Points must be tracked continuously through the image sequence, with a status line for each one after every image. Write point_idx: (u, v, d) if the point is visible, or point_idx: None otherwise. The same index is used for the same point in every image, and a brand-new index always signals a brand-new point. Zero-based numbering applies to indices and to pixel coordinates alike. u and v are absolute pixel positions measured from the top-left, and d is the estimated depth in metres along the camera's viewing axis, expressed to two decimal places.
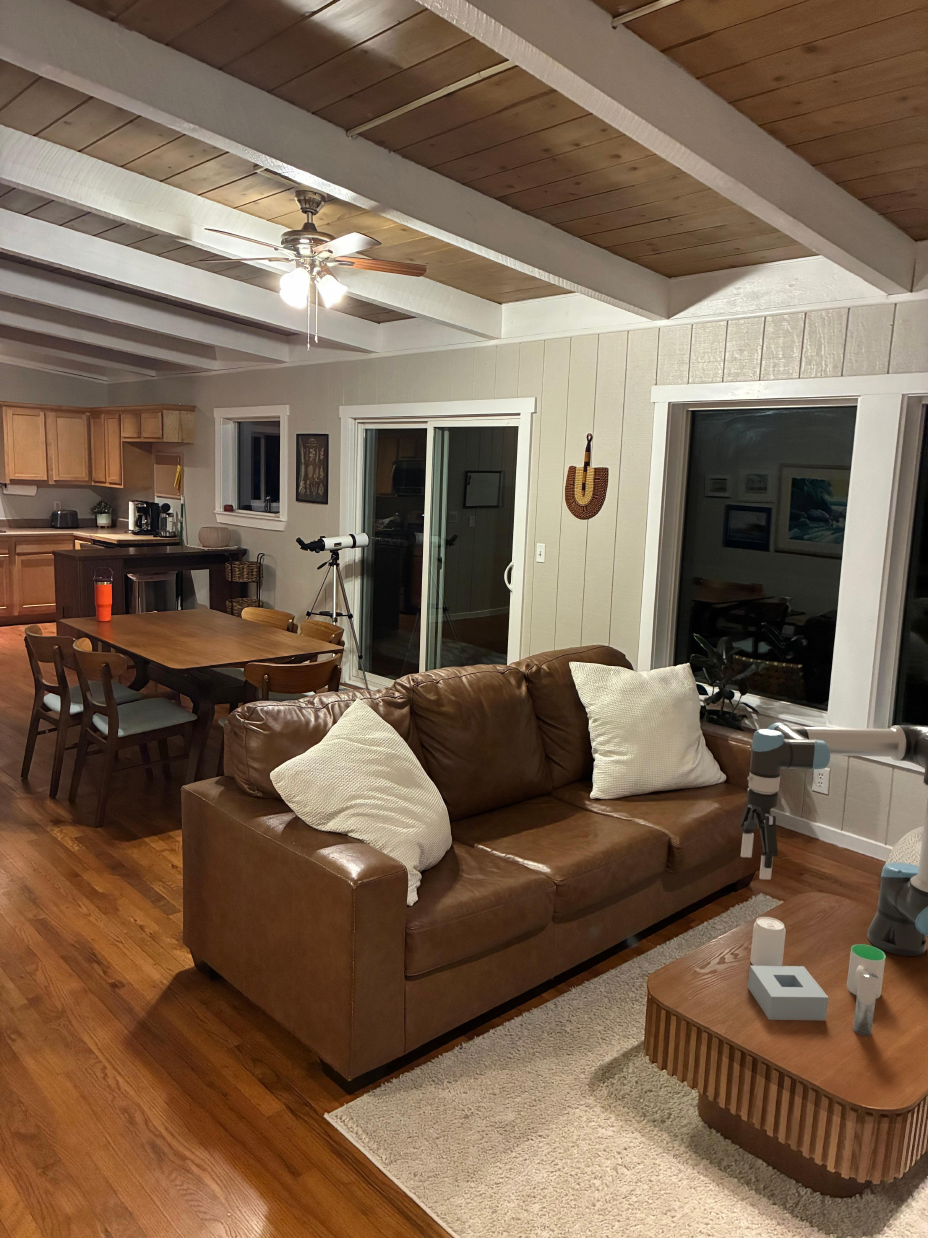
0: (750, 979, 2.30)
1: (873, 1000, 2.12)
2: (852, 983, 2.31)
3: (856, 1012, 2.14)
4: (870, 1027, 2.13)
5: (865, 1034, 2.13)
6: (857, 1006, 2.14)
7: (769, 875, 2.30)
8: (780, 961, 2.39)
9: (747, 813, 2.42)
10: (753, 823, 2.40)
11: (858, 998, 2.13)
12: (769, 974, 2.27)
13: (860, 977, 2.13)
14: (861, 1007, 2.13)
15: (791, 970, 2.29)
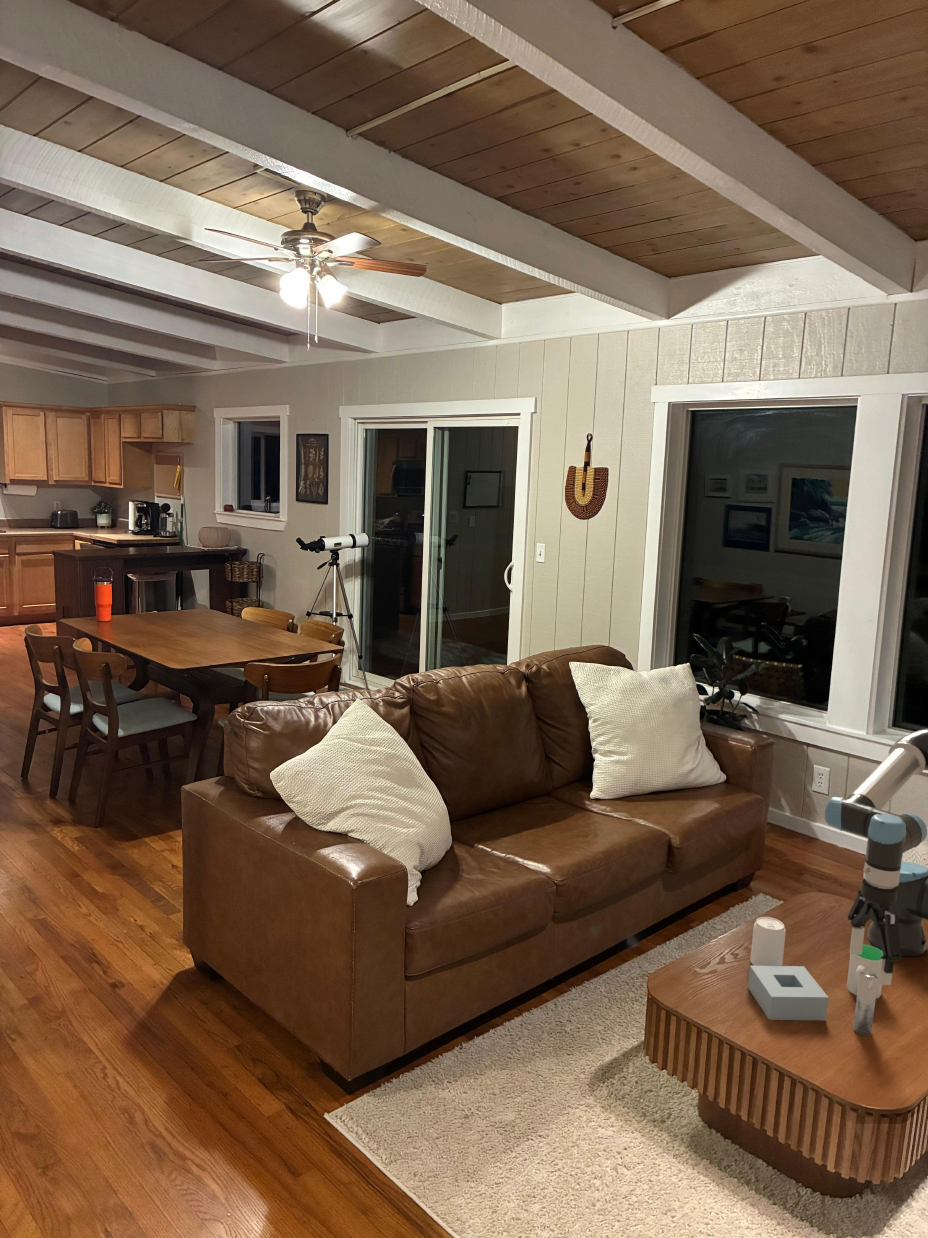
0: (750, 979, 2.30)
1: (873, 1000, 2.12)
2: (852, 983, 2.31)
3: (856, 1012, 2.14)
4: (870, 1027, 2.13)
5: (865, 1034, 2.13)
6: (857, 1006, 2.14)
7: (889, 980, 2.05)
8: (780, 961, 2.39)
9: (858, 906, 2.17)
10: (866, 918, 2.15)
11: (858, 998, 2.13)
12: (769, 974, 2.27)
13: (860, 977, 2.13)
14: (861, 1007, 2.13)
15: (791, 970, 2.29)
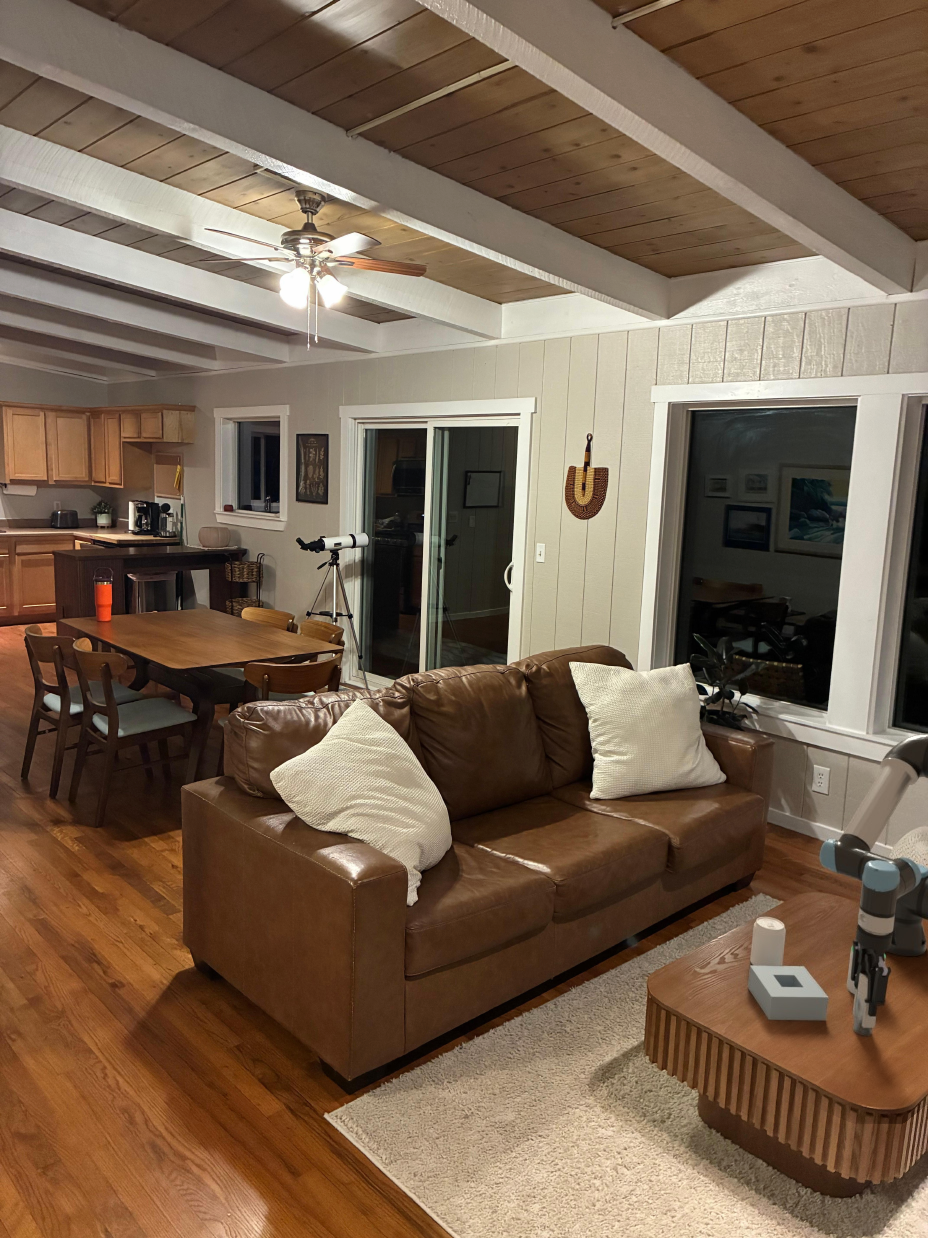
0: (750, 979, 2.30)
1: None
2: (852, 983, 2.31)
3: (856, 1012, 2.14)
4: None
5: (865, 1034, 2.13)
6: (857, 1006, 2.14)
7: (873, 1023, 2.12)
8: (780, 961, 2.39)
9: (856, 959, 2.17)
10: (866, 971, 2.15)
11: (858, 998, 2.13)
12: (769, 974, 2.27)
13: (860, 977, 2.13)
14: (861, 1007, 2.13)
15: (791, 970, 2.29)
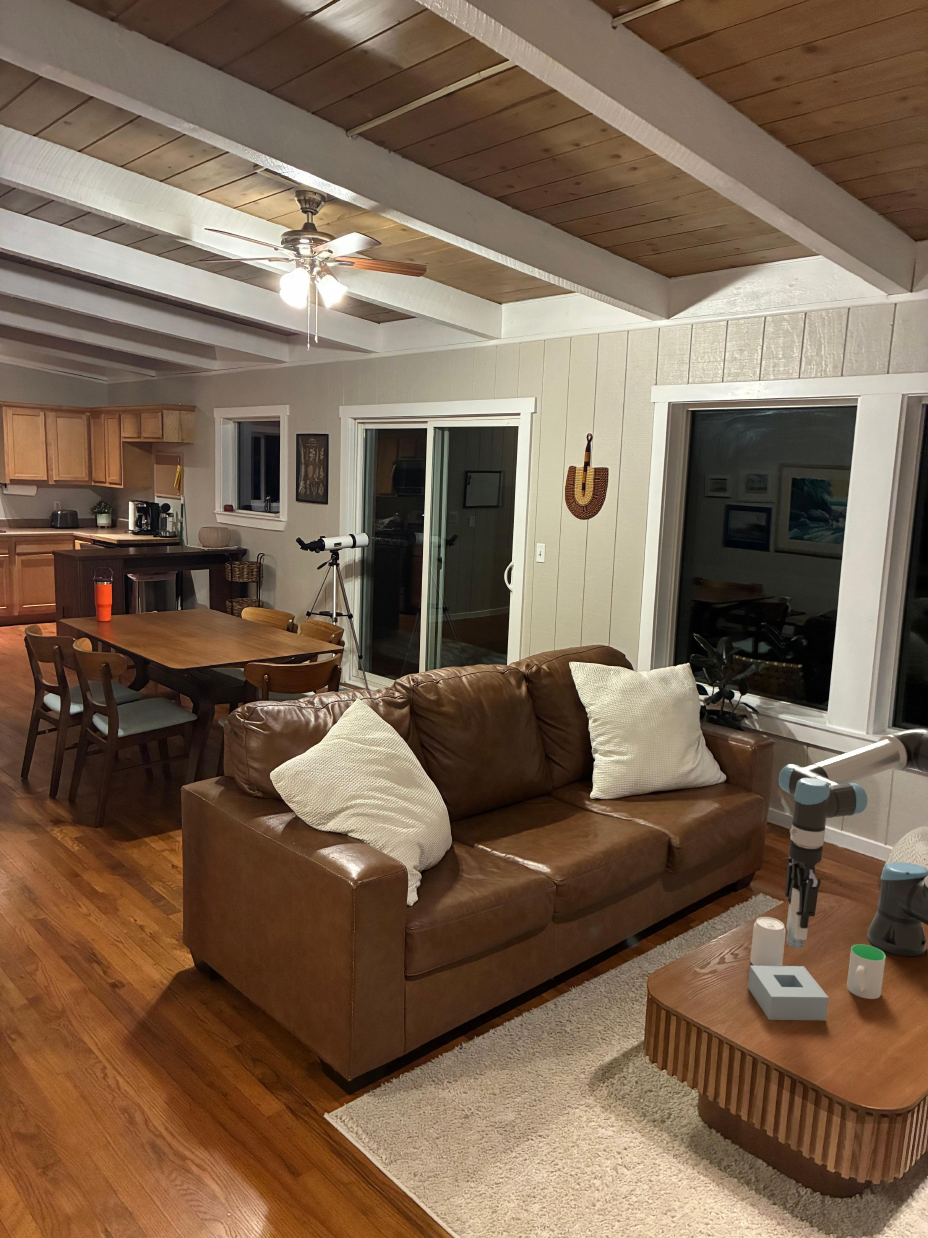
0: (750, 979, 2.30)
1: None
2: (852, 983, 2.31)
3: (789, 925, 2.21)
4: None
5: (797, 946, 2.20)
6: (790, 919, 2.21)
7: (805, 935, 2.19)
8: (780, 961, 2.39)
9: (790, 875, 2.24)
10: (799, 886, 2.22)
11: (791, 911, 2.20)
12: (769, 974, 2.27)
13: (793, 891, 2.20)
14: (794, 920, 2.20)
15: (791, 970, 2.29)
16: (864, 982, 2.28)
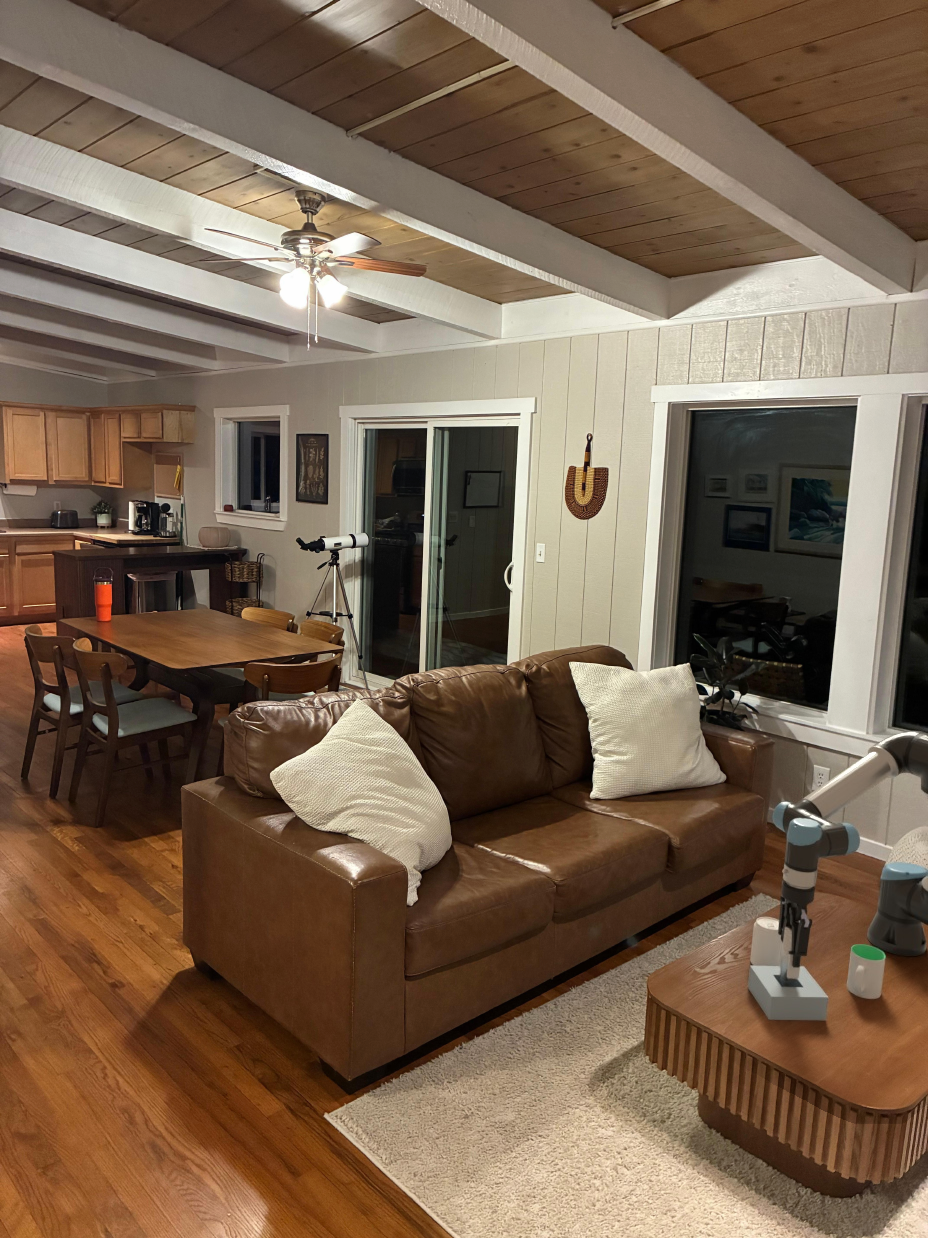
0: (750, 979, 2.30)
1: None
2: (852, 983, 2.31)
3: (781, 964, 2.23)
4: (794, 978, 2.22)
5: (790, 985, 2.22)
6: (782, 958, 2.23)
7: (797, 974, 2.21)
8: None
9: (783, 913, 2.26)
10: None
11: (783, 950, 2.22)
12: (769, 974, 2.27)
13: (785, 930, 2.22)
14: (786, 959, 2.22)
15: None
16: (864, 982, 2.28)
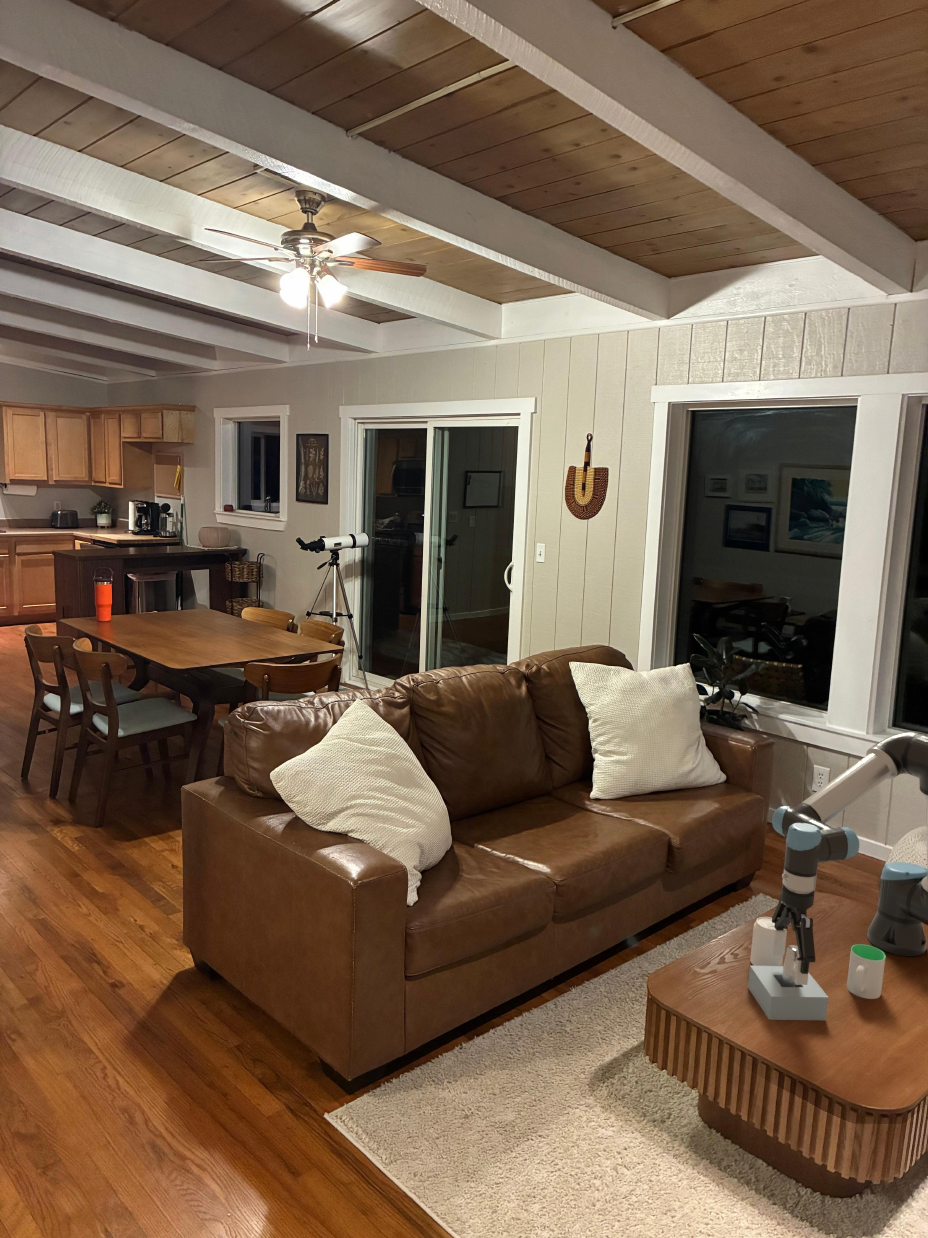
0: (750, 979, 2.30)
1: None
2: (852, 983, 2.31)
3: (781, 983, 2.24)
4: None
5: None
6: (782, 977, 2.23)
7: (805, 980, 2.16)
8: (780, 961, 2.39)
9: (780, 909, 2.28)
10: (787, 921, 2.26)
11: (784, 970, 2.23)
12: (769, 974, 2.27)
13: (787, 950, 2.22)
14: (786, 979, 2.22)
15: None
16: (864, 982, 2.28)
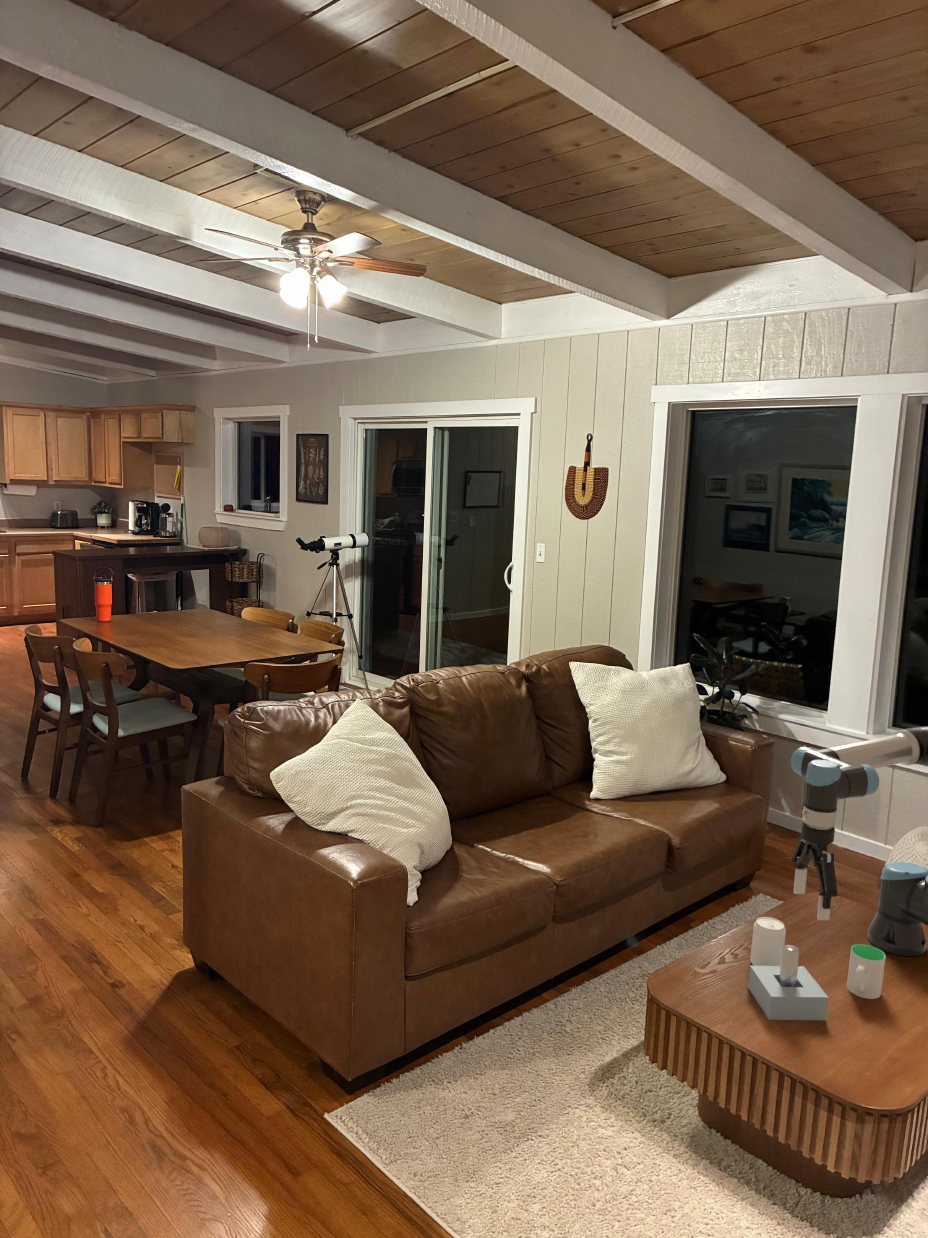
0: (750, 979, 2.30)
1: (795, 972, 2.22)
2: (852, 983, 2.31)
3: None
4: None
5: None
6: (780, 978, 2.24)
7: (827, 916, 2.16)
8: (780, 961, 2.39)
9: (800, 848, 2.28)
10: (807, 859, 2.26)
11: (781, 970, 2.23)
12: (769, 974, 2.27)
13: (783, 950, 2.23)
14: (784, 979, 2.23)
15: None
16: (864, 982, 2.28)
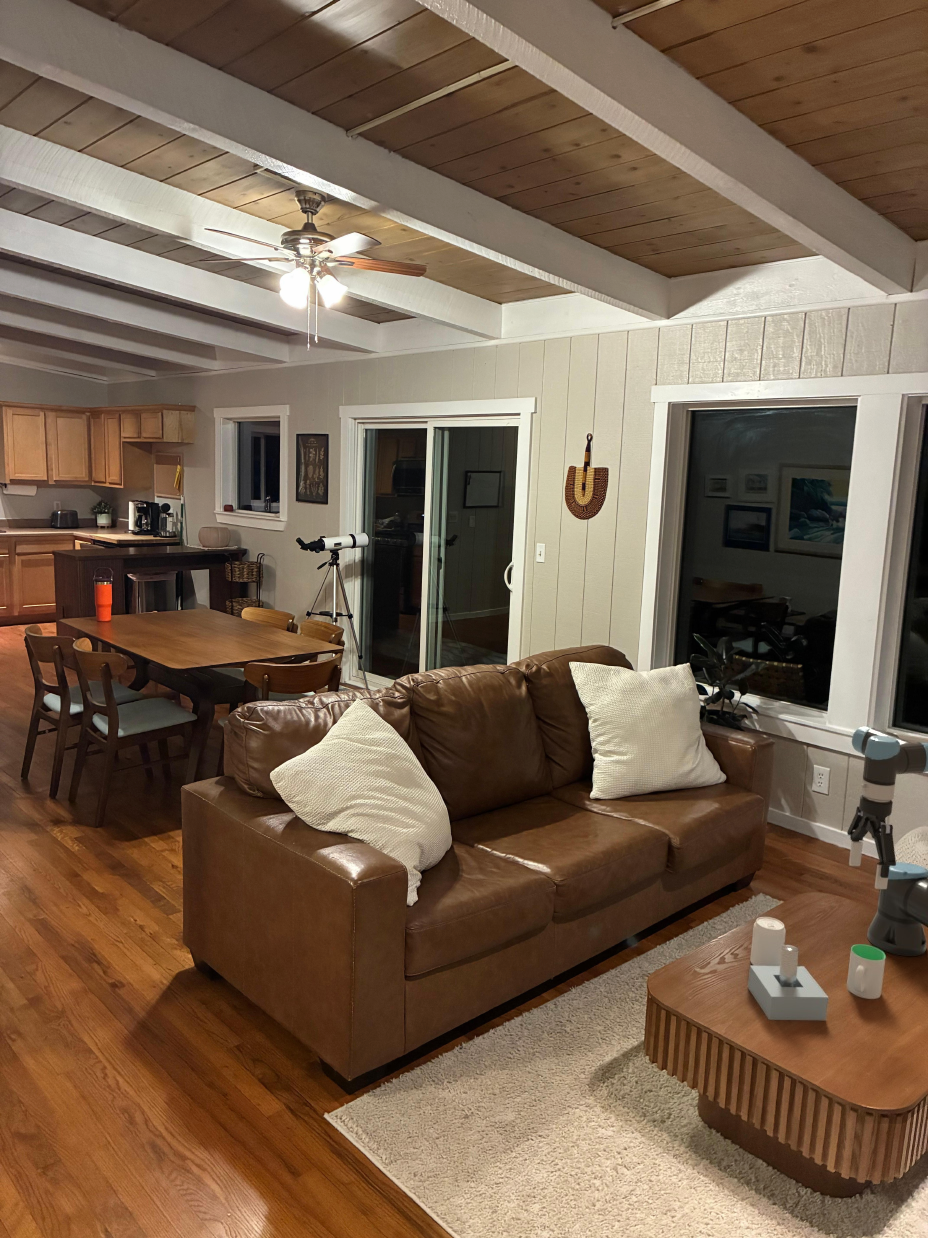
0: (750, 979, 2.30)
1: (794, 972, 2.22)
2: (852, 983, 2.31)
3: None
4: None
5: None
6: (780, 978, 2.24)
7: (885, 885, 2.26)
8: None
9: (856, 821, 2.38)
10: (864, 832, 2.36)
11: (780, 970, 2.23)
12: (769, 974, 2.27)
13: (782, 950, 2.23)
14: (783, 979, 2.23)
15: None
16: (864, 982, 2.28)
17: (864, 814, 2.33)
